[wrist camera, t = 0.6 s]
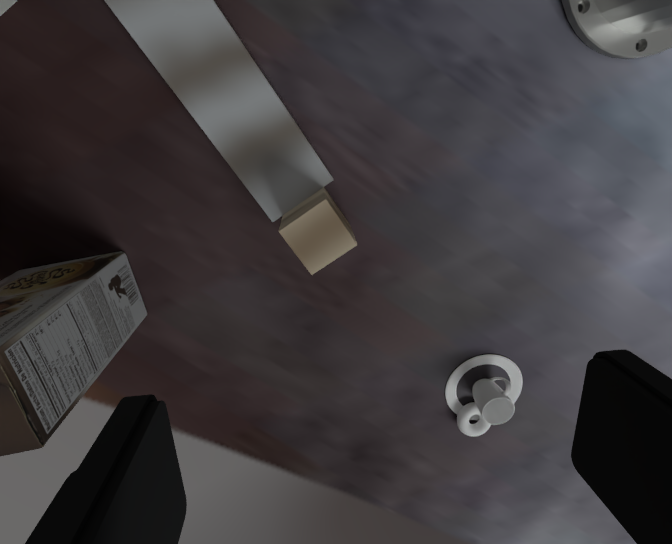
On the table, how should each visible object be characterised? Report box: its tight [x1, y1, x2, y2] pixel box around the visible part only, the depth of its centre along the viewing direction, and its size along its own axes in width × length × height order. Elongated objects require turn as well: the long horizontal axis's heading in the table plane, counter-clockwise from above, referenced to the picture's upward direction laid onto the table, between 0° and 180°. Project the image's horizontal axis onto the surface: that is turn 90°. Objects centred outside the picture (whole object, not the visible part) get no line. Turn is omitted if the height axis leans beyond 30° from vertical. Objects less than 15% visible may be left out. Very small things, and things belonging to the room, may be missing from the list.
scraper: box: [104, 0, 357, 275], centre depth 29 cm, size 26×6×6 cm, turn 34°
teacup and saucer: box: [445, 354, 523, 436], centre depth 41 cm, size 9×8×4 cm
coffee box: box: [0, 251, 147, 456], centre depth 28 cm, size 9×6×16 cm
